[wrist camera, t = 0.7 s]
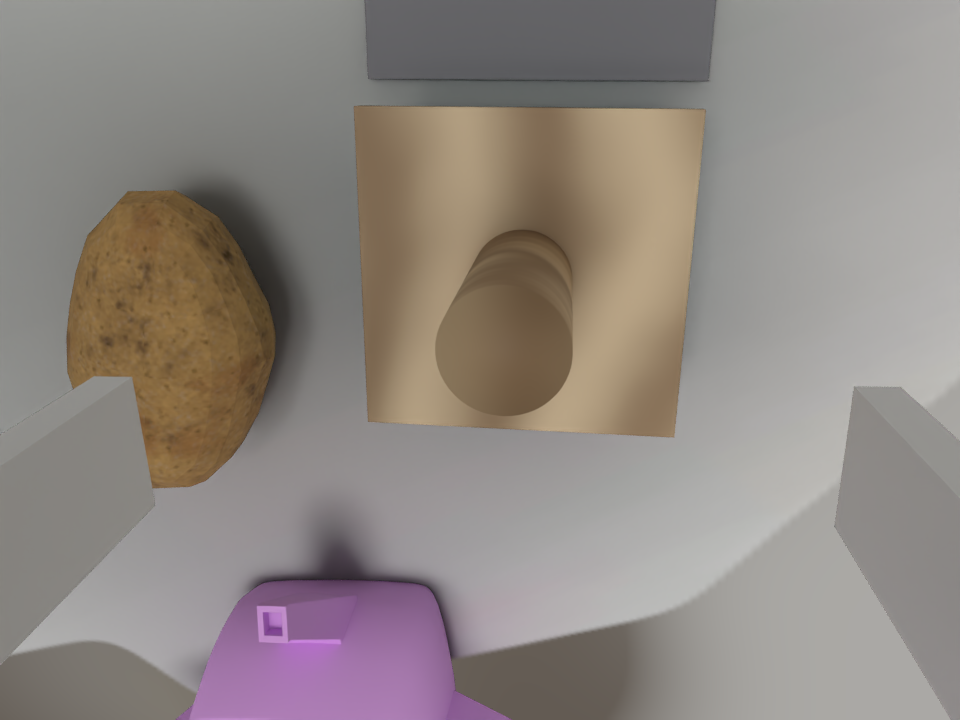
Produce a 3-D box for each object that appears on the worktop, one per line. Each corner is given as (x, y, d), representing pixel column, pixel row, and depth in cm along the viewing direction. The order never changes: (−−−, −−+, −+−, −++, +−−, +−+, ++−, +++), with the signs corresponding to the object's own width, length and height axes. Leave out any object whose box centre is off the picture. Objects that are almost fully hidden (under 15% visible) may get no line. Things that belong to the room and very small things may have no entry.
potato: (307, 189, 38) (242, 215, 31) (296, 448, 43) (238, 526, 35) (114, 163, 39) (4, 182, 31) (125, 421, 44) (32, 492, 36)
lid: (373, 412, 35) (300, 533, 26) (360, 105, 31) (267, 115, 21) (671, 427, 34) (709, 560, 24) (701, 108, 29) (763, 120, 20)
